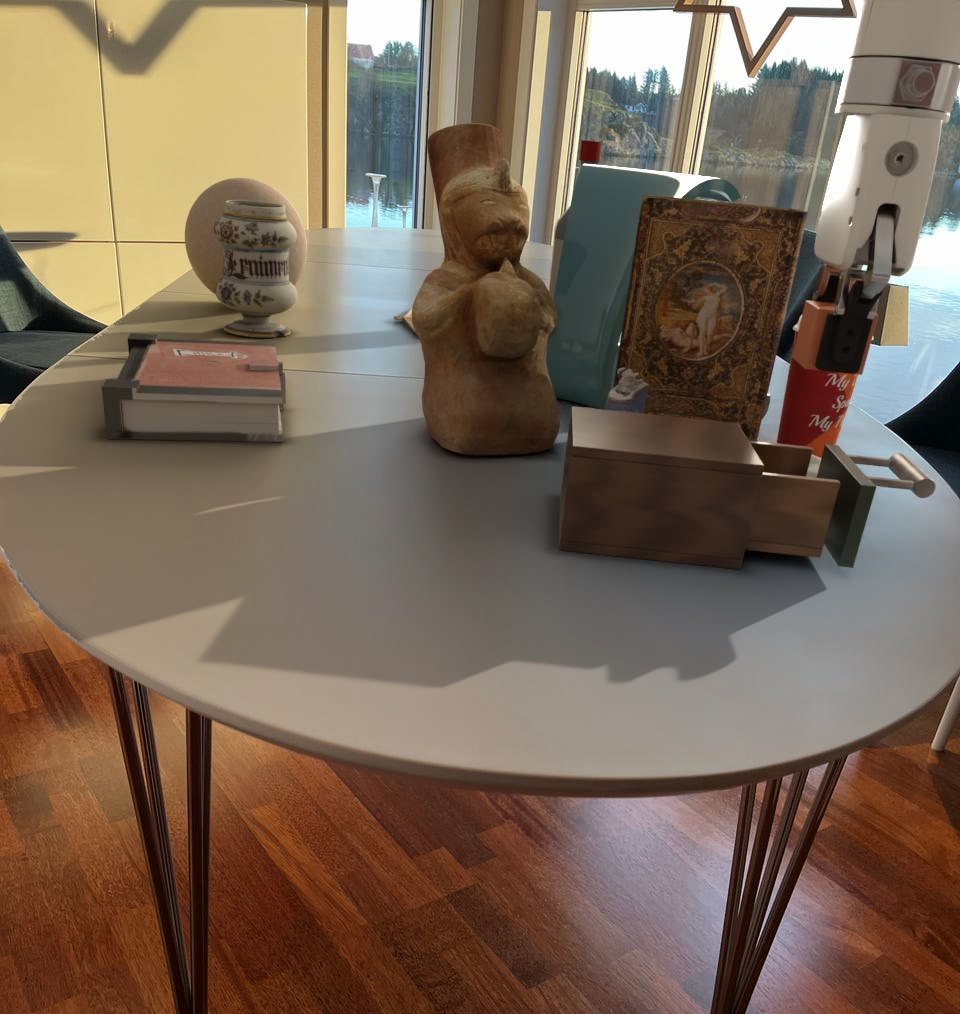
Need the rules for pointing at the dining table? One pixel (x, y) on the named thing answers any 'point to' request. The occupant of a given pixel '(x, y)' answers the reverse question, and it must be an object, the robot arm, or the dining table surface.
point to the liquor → (587, 155)
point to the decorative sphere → (211, 206)
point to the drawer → (821, 499)
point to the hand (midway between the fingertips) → (827, 361)
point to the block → (818, 334)
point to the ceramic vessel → (484, 307)
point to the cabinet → (658, 488)
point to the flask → (628, 393)
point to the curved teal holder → (605, 272)
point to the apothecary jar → (255, 266)
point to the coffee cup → (814, 405)
